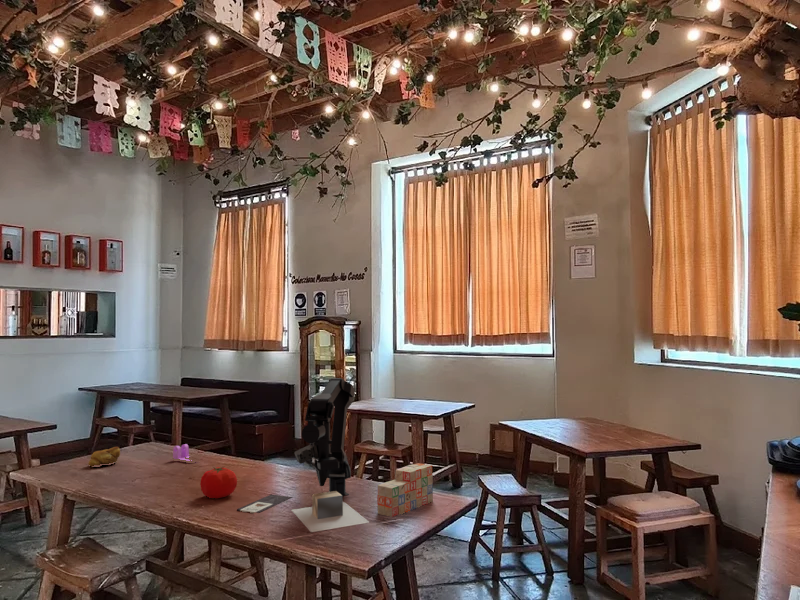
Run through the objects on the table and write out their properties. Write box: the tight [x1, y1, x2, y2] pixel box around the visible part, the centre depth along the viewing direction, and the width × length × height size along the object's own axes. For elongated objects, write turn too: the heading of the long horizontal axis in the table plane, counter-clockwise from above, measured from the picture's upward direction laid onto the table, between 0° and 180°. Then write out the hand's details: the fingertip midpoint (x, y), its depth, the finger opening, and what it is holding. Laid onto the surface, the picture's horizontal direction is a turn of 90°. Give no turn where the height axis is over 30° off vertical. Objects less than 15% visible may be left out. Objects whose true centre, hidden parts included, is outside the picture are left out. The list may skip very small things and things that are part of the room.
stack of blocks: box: [376, 462, 434, 518], centre depth 187 cm, size 21×6×12 cm, turn 141°
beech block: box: [311, 491, 344, 519], centre depth 180 cm, size 6×8×6 cm
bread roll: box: [87, 446, 121, 467], centre depth 254 cm, size 13×10×8 cm
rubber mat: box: [291, 501, 370, 533], centre depth 179 cm, size 23×18×1 cm
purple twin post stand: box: [172, 443, 192, 461], centre depth 260 cm, size 13×6×7 cm, turn 56°
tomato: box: [199, 466, 238, 499], centre depth 203 cm, size 11×13×10 cm
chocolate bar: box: [236, 493, 293, 514], centre depth 193 cm, size 9×1×18 cm
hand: (321, 485), depth 186 cm, fingers closed
